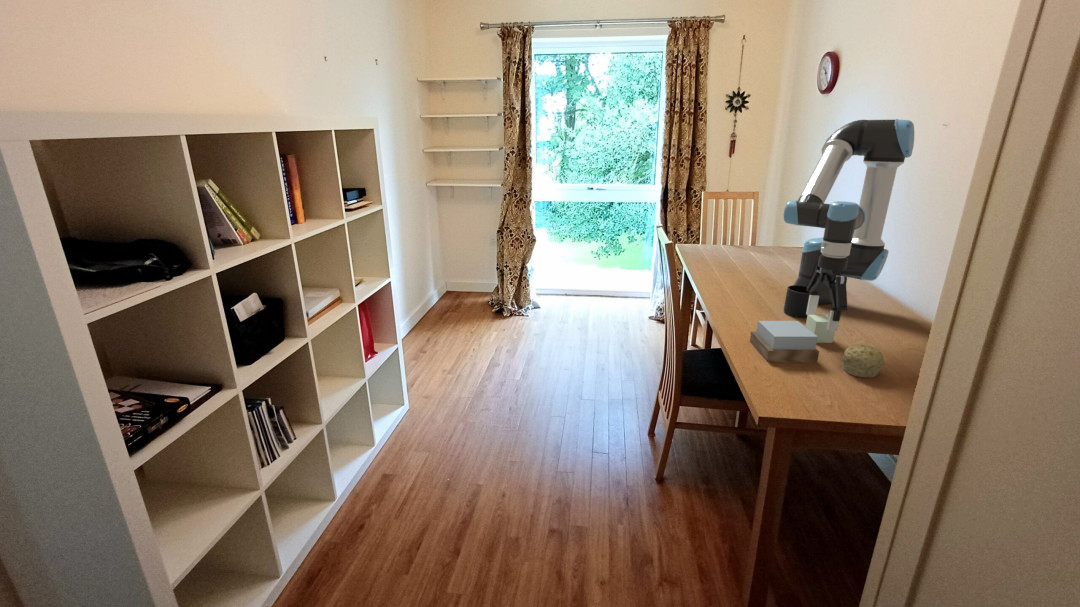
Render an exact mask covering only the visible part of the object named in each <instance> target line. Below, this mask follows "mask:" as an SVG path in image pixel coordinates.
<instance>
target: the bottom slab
mask: <svg viewBox="0 0 1080 607" xmlns="http://www.w3.org/2000/svg"><path fill="white" fill-rule="evenodd" d="M749 337H750V338H749V343H751V345H752V346H753V348H755V349H757V350H756V351H757V352H758V353H759V354H760V356H761V357H762V356H763V357H762V358H763V359H764V360H765V361H766V362H768V363H769V362H771V363H773V362H774V363H818V360H819V355H820V351H819V349H817V347H816V348H815V350H773V349H772V348H771V347H770V346H769V345H768V344H767V343H766V342H765V341H764V340H763V339H762V338H761V337H760V336H759V335H758V334H757V333H756V331H751V332H750V336H749Z"/></svg>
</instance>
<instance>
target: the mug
mask: <svg viewBox="0 0 1080 607" xmlns="http://www.w3.org/2000/svg"><path fill="white" fill-rule="evenodd" d="M785 293H786V294H785V300H784V307H783V313H784V314H786V315H787V316H790V317H795V318H801V319H803V318H804V319H805V318H806V319H807V315H806V311H807V306H808V301H809V296H810V294H809V291H807V286H801V285H794V284H793V285H788V286H787V289H786V292H785ZM816 295H817V294H816Z"/></svg>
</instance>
